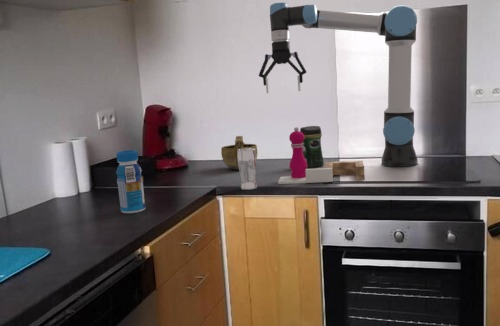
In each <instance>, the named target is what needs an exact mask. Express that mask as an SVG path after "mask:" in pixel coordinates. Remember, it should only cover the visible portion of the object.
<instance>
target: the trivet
mask: <svg viewBox="0 0 500 326" xmlns="http://www.w3.org/2000/svg"><path fill="white" fill-rule="evenodd" d="M292 184H297V185H298V184H307V183H306V177H304V178H292V177H291V175H290V176H280V177H279V179H278V182H277V185H292Z"/></svg>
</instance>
